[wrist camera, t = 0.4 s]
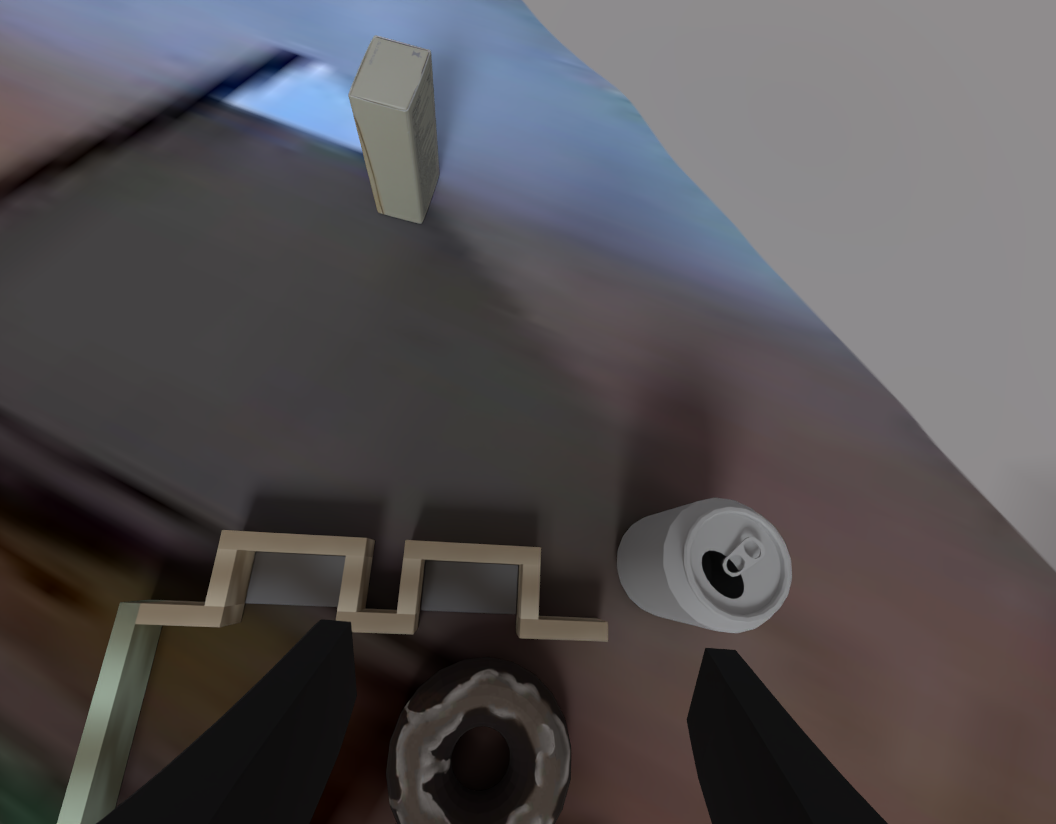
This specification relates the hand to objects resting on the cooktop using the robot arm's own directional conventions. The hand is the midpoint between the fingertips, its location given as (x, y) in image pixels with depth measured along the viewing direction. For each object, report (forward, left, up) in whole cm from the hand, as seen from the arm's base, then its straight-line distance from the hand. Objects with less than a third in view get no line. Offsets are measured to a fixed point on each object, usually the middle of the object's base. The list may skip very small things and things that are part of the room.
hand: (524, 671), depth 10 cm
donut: (-10, 0, -28) cm, 29 cm away
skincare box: (+35, +10, -28) cm, 46 cm away
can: (+3, -13, -28) cm, 31 cm away
